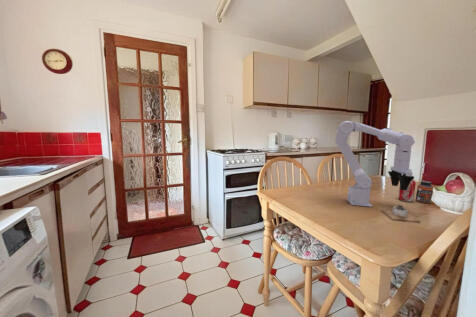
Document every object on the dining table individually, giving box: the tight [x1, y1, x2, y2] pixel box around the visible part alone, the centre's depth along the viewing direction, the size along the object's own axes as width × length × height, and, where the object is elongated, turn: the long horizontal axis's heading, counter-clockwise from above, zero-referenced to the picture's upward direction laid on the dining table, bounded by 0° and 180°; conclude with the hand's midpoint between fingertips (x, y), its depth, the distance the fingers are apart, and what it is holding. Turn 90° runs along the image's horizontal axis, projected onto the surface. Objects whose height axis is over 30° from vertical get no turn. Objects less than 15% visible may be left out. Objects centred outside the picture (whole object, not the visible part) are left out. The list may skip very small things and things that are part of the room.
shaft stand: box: [380, 204, 421, 224], centre depth 84 cm, size 10×10×5 cm
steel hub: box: [391, 206, 409, 218], centre depth 85 cm, size 5×5×3 cm
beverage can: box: [397, 179, 416, 203], centre depth 104 cm, size 6×6×12 cm
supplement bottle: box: [415, 180, 434, 205], centre depth 103 cm, size 6×6×11 cm
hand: (398, 187), depth 93 cm, fingers open, 7 cm apart
